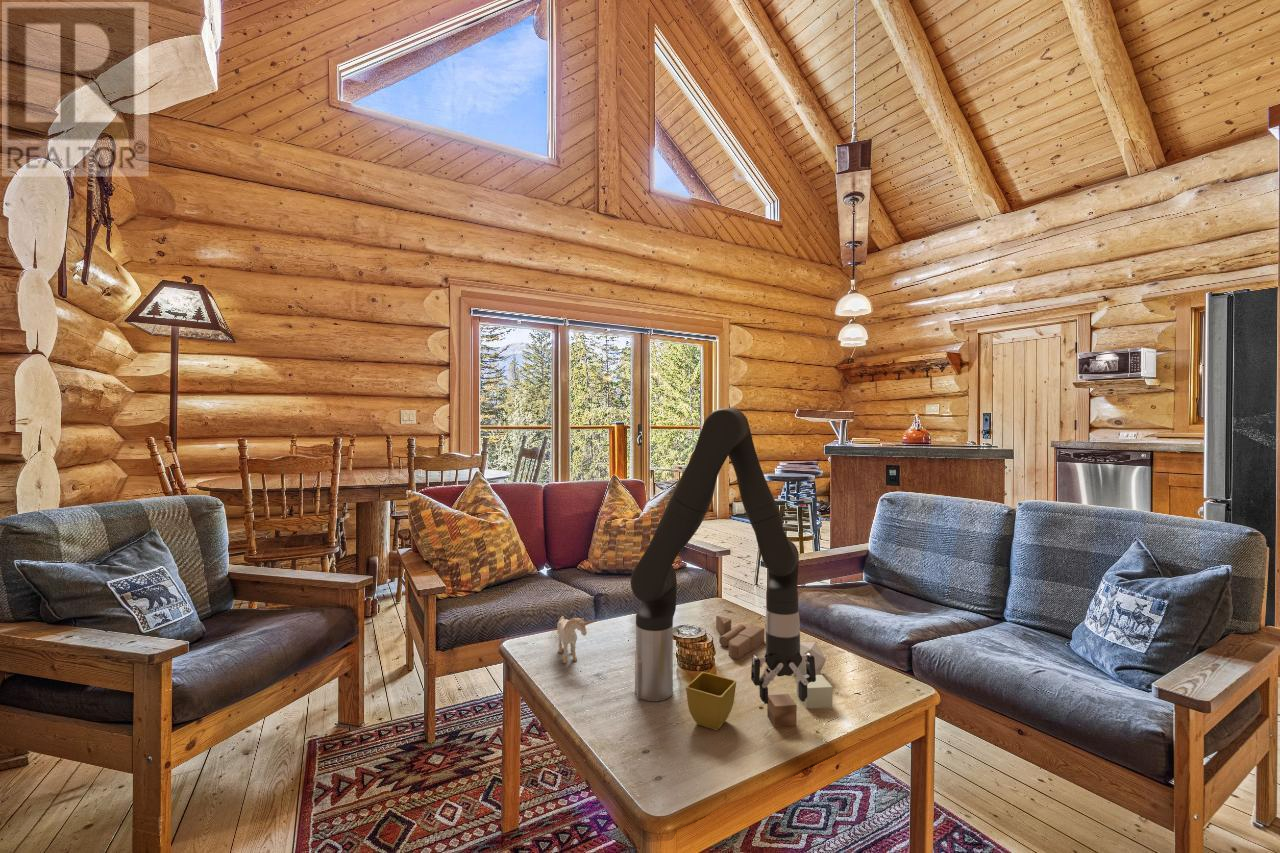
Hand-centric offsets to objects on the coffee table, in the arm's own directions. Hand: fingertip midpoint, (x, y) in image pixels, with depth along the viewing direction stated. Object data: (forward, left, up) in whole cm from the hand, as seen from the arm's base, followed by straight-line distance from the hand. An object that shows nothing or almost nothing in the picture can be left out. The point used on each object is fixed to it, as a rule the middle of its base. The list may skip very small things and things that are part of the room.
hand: (783, 701), depth 128 cm
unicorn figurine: (-46, +39, -5) cm, 61 cm away
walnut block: (0, 0, -5) cm, 5 cm away
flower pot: (-16, +1, -5) cm, 17 cm away
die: (+15, +22, -5) cm, 27 cm away
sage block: (+11, +8, -5) cm, 14 cm away
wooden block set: (-1, +45, -6) cm, 45 cm away
